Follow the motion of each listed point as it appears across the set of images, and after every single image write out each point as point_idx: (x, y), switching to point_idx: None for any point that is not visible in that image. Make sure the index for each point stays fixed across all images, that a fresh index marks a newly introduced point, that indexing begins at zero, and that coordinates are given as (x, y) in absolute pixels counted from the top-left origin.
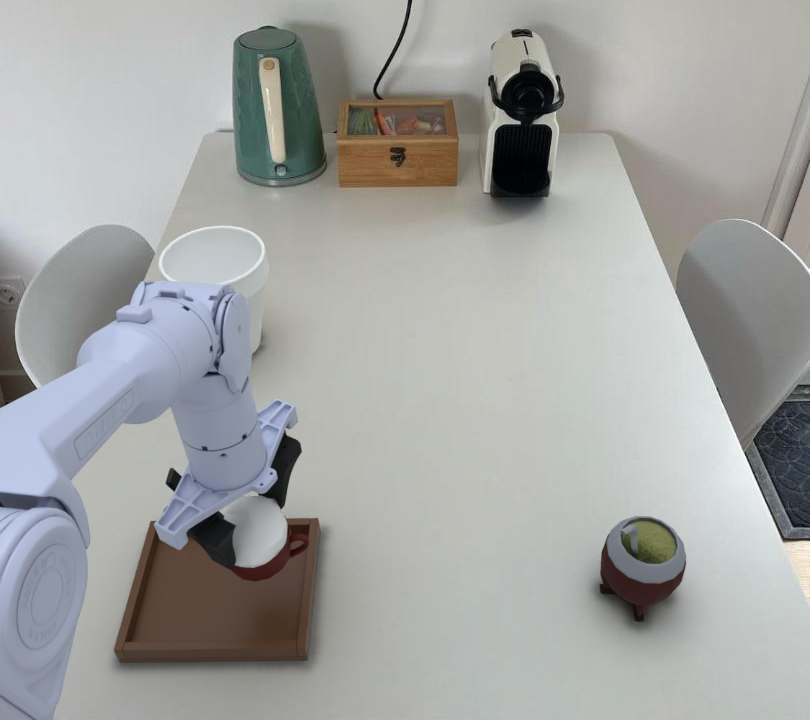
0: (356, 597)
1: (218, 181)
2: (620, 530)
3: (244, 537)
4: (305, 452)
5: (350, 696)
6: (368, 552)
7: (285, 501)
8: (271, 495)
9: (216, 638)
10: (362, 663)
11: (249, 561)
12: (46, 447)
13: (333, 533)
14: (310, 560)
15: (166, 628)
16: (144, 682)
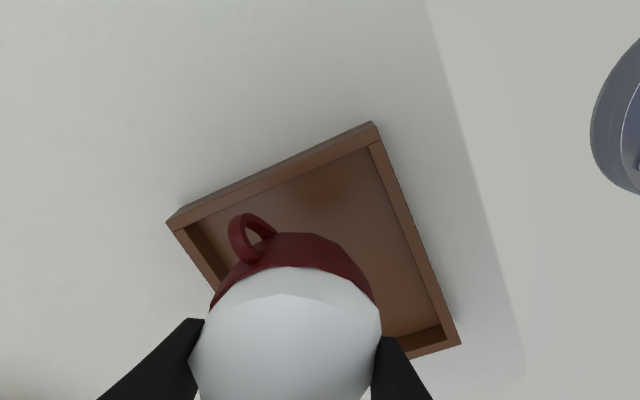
0: (247, 102)
1: None
2: None
3: (337, 378)
4: (87, 286)
5: (401, 24)
6: (169, 123)
7: (176, 328)
8: (183, 375)
9: (392, 248)
10: (343, 34)
11: (375, 321)
12: None
13: (173, 189)
14: (236, 195)
15: (401, 304)
16: (465, 288)
